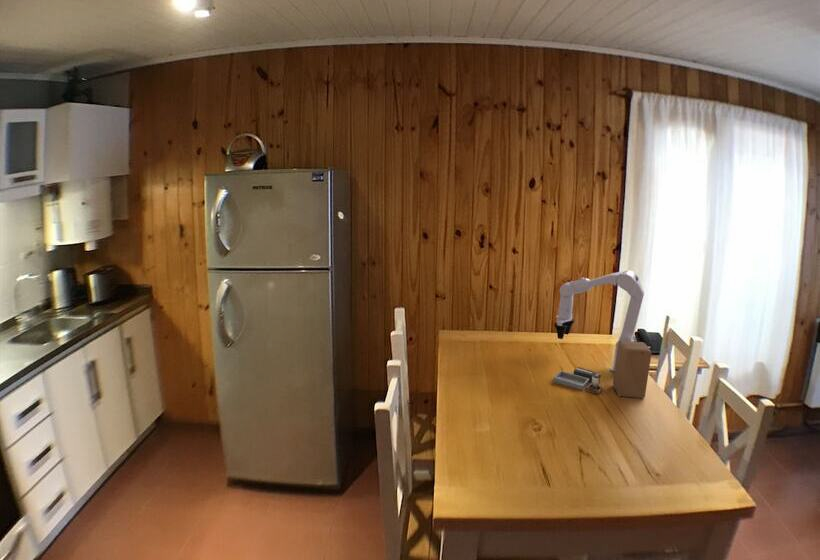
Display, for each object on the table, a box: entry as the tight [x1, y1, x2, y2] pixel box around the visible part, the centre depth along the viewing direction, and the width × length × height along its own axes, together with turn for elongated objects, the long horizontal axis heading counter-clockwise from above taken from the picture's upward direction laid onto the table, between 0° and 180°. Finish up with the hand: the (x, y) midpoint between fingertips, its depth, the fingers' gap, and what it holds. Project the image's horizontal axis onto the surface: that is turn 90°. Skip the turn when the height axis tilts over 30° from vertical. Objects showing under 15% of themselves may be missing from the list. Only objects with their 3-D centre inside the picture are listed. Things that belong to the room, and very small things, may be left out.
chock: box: [573, 366, 599, 384], centre depth 189 cm, size 9×4×4 cm, turn 51°
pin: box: [591, 372, 602, 390], centre depth 179 cm, size 3×3×7 cm
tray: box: [552, 370, 590, 392], centre depth 185 cm, size 12×8×2 cm
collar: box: [585, 382, 604, 395], centre depth 180 cm, size 5×5×2 cm
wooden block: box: [612, 341, 652, 399], centre depth 176 cm, size 10×10×20 cm
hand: (563, 336), depth 210 cm, fingers open, 7 cm apart
